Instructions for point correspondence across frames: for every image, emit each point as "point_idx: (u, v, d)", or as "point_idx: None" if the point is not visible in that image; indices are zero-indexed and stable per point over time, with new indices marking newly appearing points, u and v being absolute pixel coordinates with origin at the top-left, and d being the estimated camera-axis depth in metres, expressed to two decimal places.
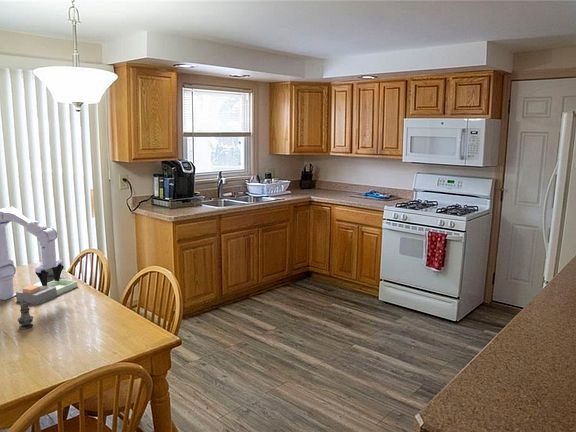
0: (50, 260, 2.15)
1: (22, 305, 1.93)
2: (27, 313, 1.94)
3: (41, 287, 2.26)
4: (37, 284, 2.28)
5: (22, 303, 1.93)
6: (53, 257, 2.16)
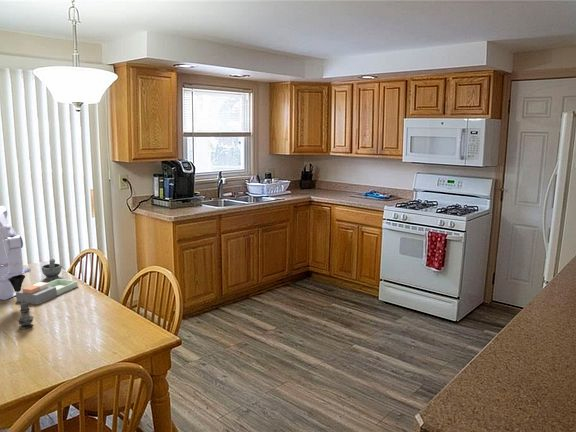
0: (15, 267, 2.12)
1: (22, 305, 1.93)
2: (27, 313, 1.94)
3: (41, 287, 2.26)
4: (37, 284, 2.28)
5: (22, 303, 1.93)
6: (19, 265, 2.13)
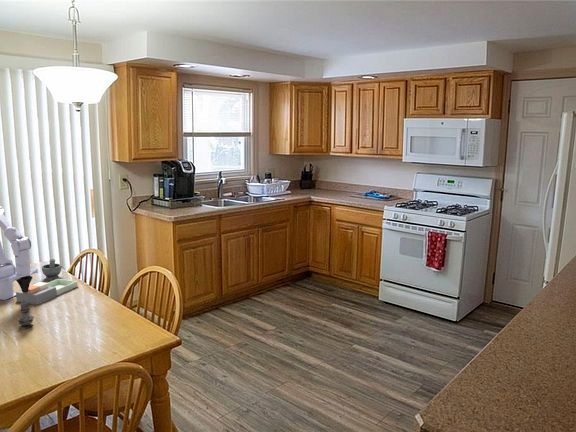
0: (23, 269, 2.16)
1: (22, 305, 1.93)
2: (27, 313, 1.94)
3: (41, 287, 2.26)
4: (37, 284, 2.28)
5: (22, 303, 1.93)
6: (27, 266, 2.17)
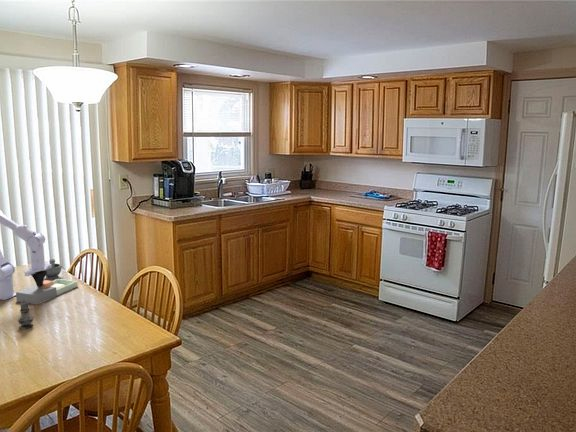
0: (38, 264, 2.24)
1: (22, 305, 1.93)
2: (27, 313, 1.94)
3: None
4: None
5: (22, 303, 1.93)
6: (42, 261, 2.25)
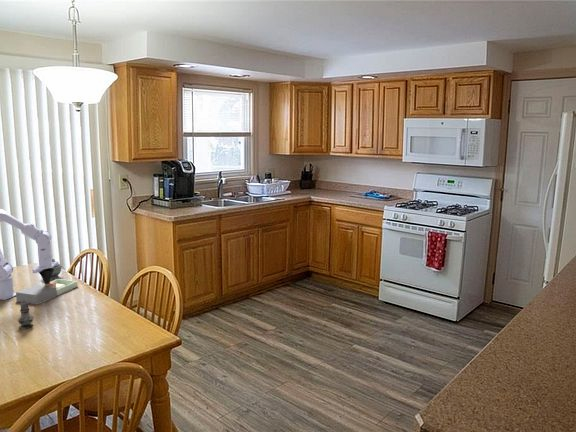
0: (46, 261, 2.28)
1: (22, 305, 1.93)
2: (27, 313, 1.94)
3: None
4: None
5: (22, 303, 1.93)
6: (49, 259, 2.29)
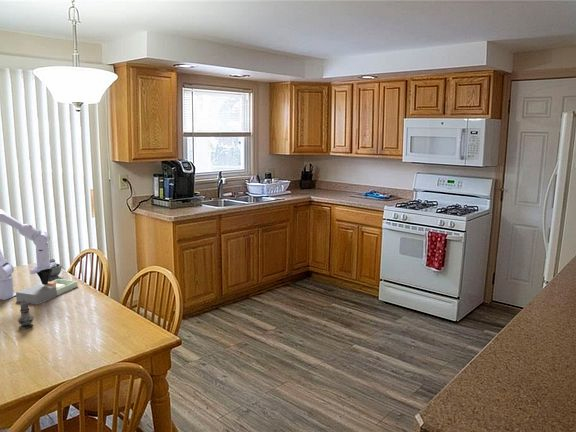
0: (44, 262, 2.27)
1: (22, 305, 1.93)
2: (27, 313, 1.94)
3: None
4: None
5: (22, 303, 1.93)
6: (47, 259, 2.28)
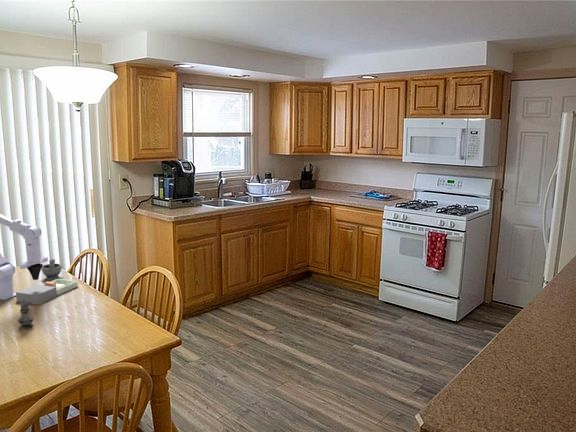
0: (34, 256, 2.22)
1: (22, 305, 1.93)
2: (27, 313, 1.94)
3: None
4: None
5: (22, 303, 1.93)
6: (37, 254, 2.23)
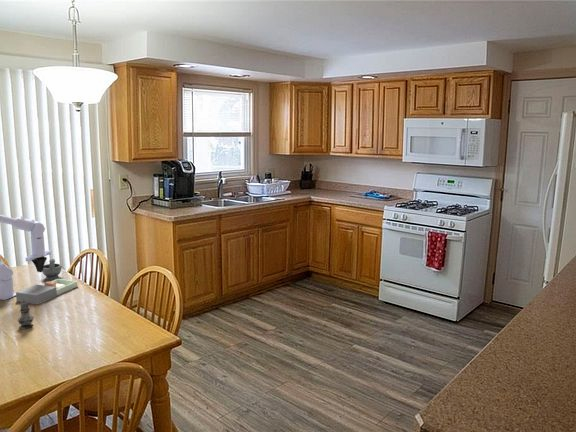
0: (39, 250, 2.34)
1: (22, 305, 1.93)
2: (27, 313, 1.94)
3: None
4: None
5: (22, 303, 1.93)
6: (42, 247, 2.35)
